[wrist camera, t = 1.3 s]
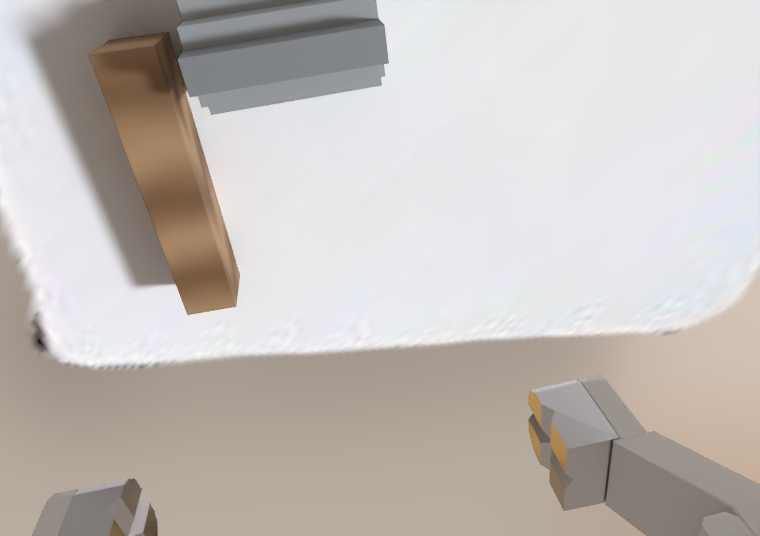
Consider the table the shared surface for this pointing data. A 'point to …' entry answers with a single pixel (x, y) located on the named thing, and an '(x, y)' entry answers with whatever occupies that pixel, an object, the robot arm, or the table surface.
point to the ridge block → (278, 50)
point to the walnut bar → (169, 166)
